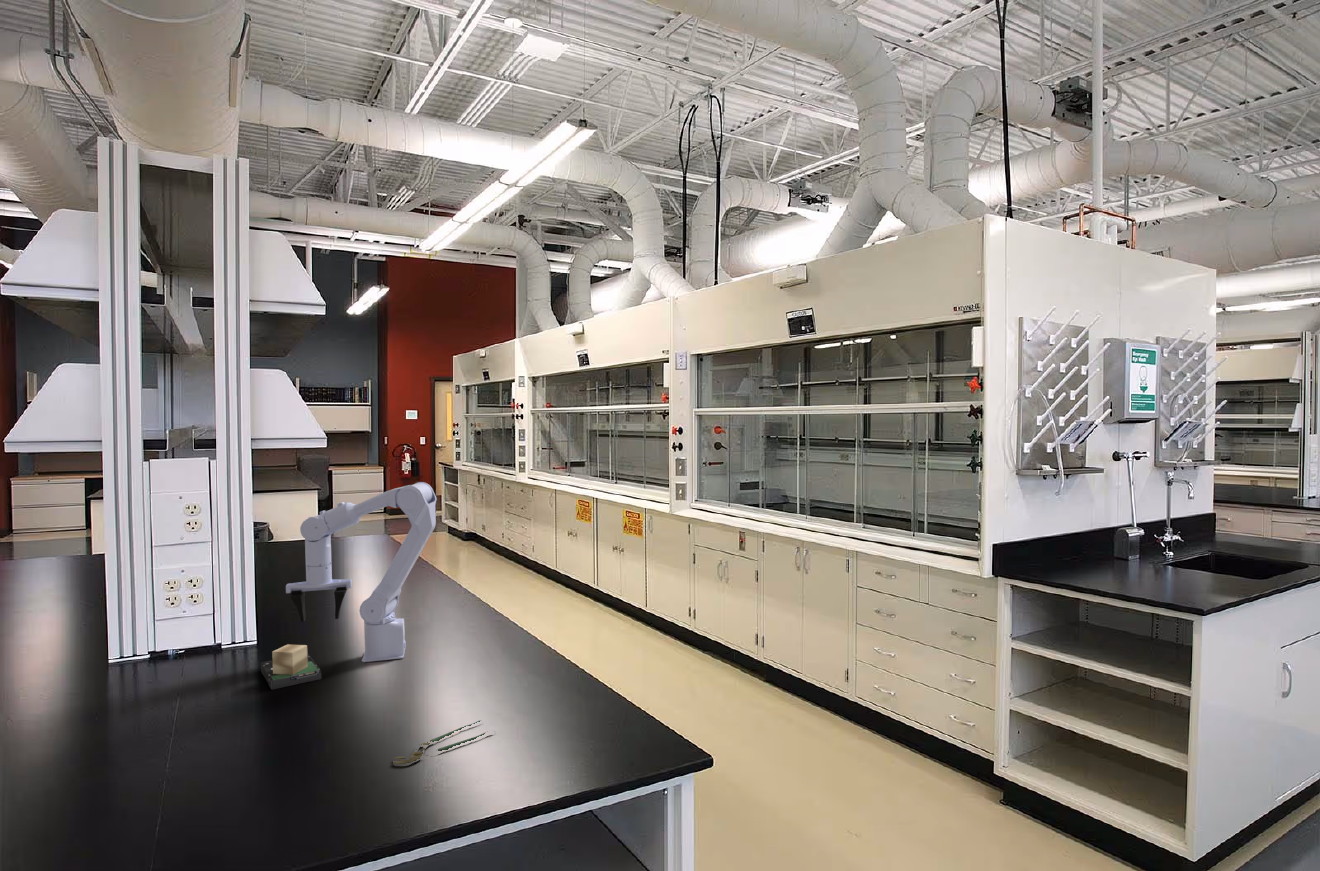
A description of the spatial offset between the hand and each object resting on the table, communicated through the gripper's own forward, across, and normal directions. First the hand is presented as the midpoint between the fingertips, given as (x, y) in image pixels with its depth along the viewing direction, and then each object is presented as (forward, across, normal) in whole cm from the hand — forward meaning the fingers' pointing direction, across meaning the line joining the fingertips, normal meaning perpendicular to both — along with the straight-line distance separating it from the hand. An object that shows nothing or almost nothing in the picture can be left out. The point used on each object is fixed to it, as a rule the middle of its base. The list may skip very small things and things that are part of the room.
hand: (320, 619), depth 177 cm
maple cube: (+8, +4, +14) cm, 16 cm away
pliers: (+10, -29, +58) cm, 66 cm away
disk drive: (+10, +5, +11) cm, 16 cm away
